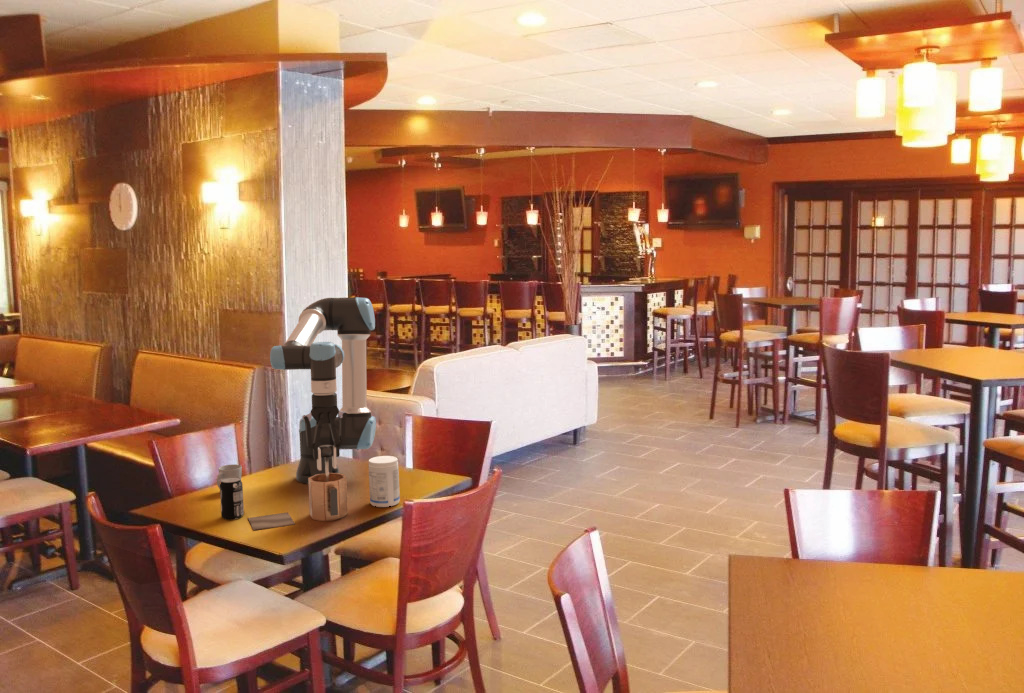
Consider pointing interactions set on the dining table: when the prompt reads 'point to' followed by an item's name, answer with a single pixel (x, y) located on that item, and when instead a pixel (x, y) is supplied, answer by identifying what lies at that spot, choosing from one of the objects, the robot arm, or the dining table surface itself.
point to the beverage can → (231, 498)
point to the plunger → (326, 457)
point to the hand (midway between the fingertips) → (326, 468)
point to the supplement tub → (384, 481)
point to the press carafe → (328, 497)
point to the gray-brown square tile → (271, 521)
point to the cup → (228, 472)
